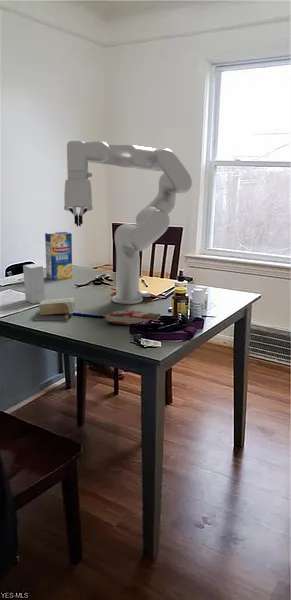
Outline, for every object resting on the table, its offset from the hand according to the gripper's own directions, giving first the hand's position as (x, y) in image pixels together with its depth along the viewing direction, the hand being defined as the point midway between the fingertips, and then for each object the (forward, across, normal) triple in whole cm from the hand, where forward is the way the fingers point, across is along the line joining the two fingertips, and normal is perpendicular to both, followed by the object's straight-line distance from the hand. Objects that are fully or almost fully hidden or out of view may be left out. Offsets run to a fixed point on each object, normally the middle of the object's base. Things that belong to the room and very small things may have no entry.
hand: (78, 225), depth 184 cm
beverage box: (+32, +10, -52) cm, 62 cm away
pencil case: (+32, -19, +23) cm, 44 cm away
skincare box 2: (+28, +2, +12) cm, 30 cm away
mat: (+32, +11, +12) cm, 36 cm away
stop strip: (+32, +5, +12) cm, 34 cm away
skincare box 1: (+32, +18, -9) cm, 38 cm away
